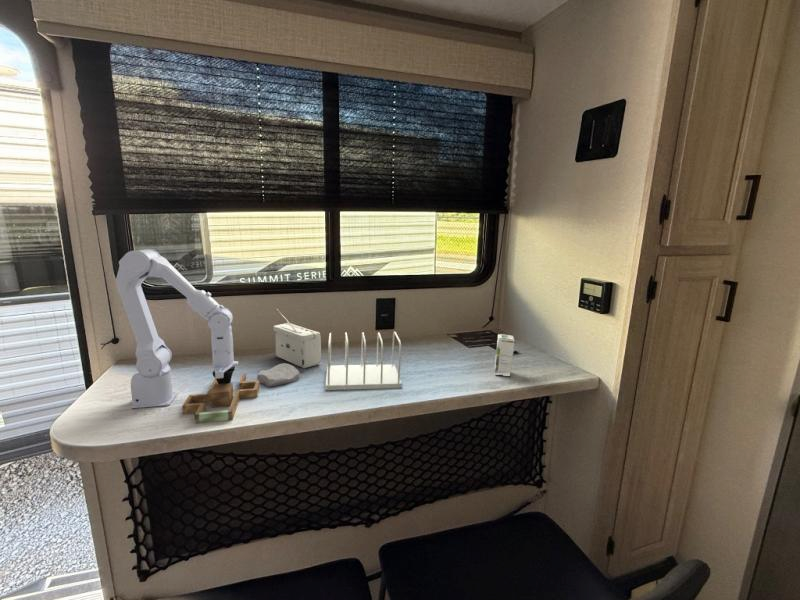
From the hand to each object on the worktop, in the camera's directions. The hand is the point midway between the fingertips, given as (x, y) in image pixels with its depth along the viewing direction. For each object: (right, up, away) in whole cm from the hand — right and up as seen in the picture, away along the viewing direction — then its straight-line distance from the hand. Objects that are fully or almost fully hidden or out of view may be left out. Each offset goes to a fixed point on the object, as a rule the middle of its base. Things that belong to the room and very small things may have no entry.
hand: (225, 391), depth 112 cm
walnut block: (+1, -2, -4) cm, 5 cm away
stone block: (+13, 0, +13) cm, 18 cm away
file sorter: (+41, 0, +16) cm, 44 cm away
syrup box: (+92, 0, +24) cm, 95 cm away
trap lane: (+1, -2, -2) cm, 2 cm away
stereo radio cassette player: (+13, +4, +31) cm, 34 cm away
